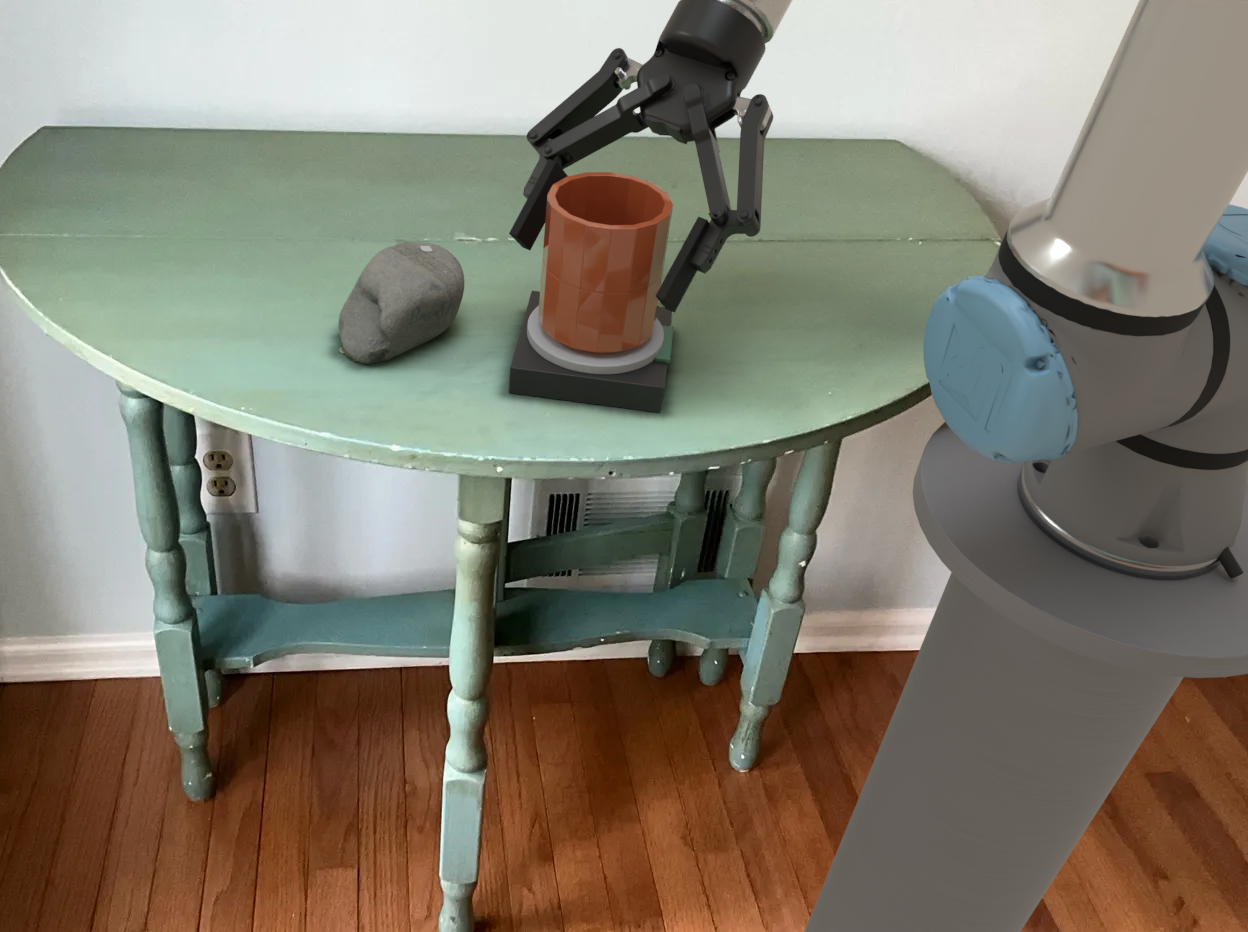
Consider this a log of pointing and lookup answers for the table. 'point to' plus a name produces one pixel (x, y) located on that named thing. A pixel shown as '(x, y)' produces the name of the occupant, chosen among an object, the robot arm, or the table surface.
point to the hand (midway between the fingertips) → (589, 272)
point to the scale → (591, 367)
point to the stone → (400, 301)
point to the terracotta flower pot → (603, 260)
